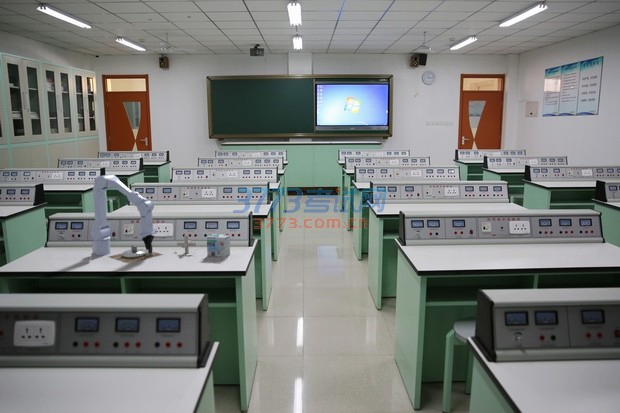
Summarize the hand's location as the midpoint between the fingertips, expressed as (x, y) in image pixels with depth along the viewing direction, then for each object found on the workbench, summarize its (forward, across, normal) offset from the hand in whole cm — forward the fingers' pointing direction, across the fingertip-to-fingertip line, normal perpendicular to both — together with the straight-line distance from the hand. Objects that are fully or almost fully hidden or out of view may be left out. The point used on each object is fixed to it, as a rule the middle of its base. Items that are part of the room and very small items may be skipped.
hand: (148, 249), depth 232 cm
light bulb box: (+5, +13, -34) cm, 36 cm away
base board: (+5, 0, +8) cm, 10 cm away
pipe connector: (+5, +14, -15) cm, 21 cm away
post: (+2, 0, +8) cm, 9 cm away
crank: (+3, +1, +6) cm, 7 cm away
